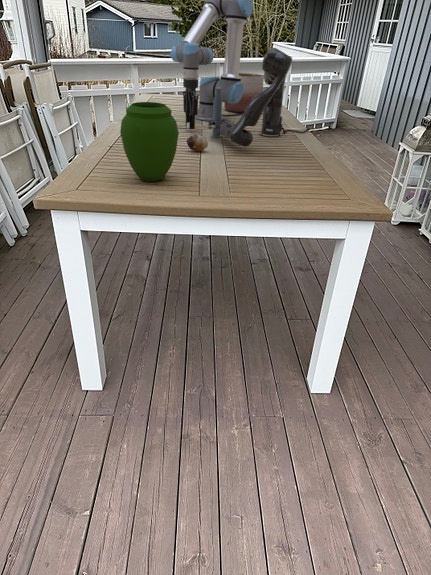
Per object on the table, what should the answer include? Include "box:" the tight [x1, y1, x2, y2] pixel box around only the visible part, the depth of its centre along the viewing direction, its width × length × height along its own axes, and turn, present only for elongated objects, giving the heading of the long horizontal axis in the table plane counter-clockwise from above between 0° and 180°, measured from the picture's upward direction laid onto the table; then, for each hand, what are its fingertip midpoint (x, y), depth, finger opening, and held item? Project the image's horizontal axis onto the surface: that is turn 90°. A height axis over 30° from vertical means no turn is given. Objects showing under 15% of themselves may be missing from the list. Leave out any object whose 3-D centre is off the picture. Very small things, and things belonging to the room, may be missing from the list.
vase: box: [119, 101, 179, 182], centre depth 140 cm, size 20×20×24 cm
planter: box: [223, 72, 265, 114], centre depth 275 cm, size 25×25×22 cm
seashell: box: [186, 132, 209, 152], centre depth 180 cm, size 10×6×8 cm, turn 97°
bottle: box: [211, 88, 223, 139], centre depth 202 cm, size 4×4×23 cm
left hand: (190, 128), depth 216 cm, fingers closed on cap, 4 cm apart
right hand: (215, 122), depth 207 cm, fingers closed on bottle, 4 cm apart
